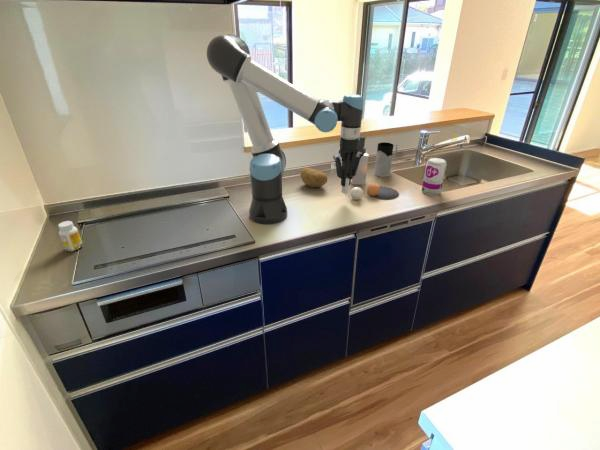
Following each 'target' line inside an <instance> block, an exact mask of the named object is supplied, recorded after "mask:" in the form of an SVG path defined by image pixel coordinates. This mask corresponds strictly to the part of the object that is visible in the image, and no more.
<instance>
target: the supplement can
mask: <svg viewBox="0 0 600 450" xmlns="http://www.w3.org/2000/svg"><path fill="white" fill-rule="evenodd" d="M446 169H447V161H446V159H444V158H442V157H430V158H428V160H427V161H426V165H425V169H424V170H425V171H424V174H423V181H422V185H421V191H422V192H423V193H424V194H426V195H429V196H437V195H440V193H442V192H441V191H442V188H443V182H444V178H445V174H446Z"/></svg>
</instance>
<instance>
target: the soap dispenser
mask: <svg viewBox="0 0 600 450" xmlns="http://www.w3.org/2000/svg"><path fill="white" fill-rule="evenodd" d="M359 139H360V140H359V147H358V152H360V153H362V154H363V156H362V157H361V159H360V162H359V165H358V168H357V172H356V175H355V176H353V178H352V179H351V182H350V185H360V186H361V185H363V186H364V185H366V182H367V171H368V170H367V169H368V164H369V163H368V160H369V154H368V151H367V148H365V144H366V142H365V141H366V136H365V135H360V137H359Z"/></svg>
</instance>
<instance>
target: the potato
mask: <svg viewBox="0 0 600 450" xmlns="http://www.w3.org/2000/svg"><path fill="white" fill-rule="evenodd" d="M300 178H301V180H302V182H303V184H305V185H306V186H308V187H310V188H320V187H323V186H325V185H326V184H327V182H328V176H327V175H326V173H324V172H322V171H320V170H318V169H314V168H311V167H305V168H303V169H302V170H301V171H300Z"/></svg>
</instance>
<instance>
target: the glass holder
mask: <svg viewBox="0 0 600 450" xmlns="http://www.w3.org/2000/svg"><path fill="white" fill-rule="evenodd" d="M394 146H395V151H394ZM393 152H394V154H393ZM397 152H398V145H397V143H394V144H393V143H391V142H378V143H377V150H376V156H375V163H374V165H375V166H374V171H373V175H375V176H377V177H385V178H386V177H390V176H391V175H392V173H391V171H392V170H391V169H392V163H393V160H394V159H395V157H396V155H397Z"/></svg>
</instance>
